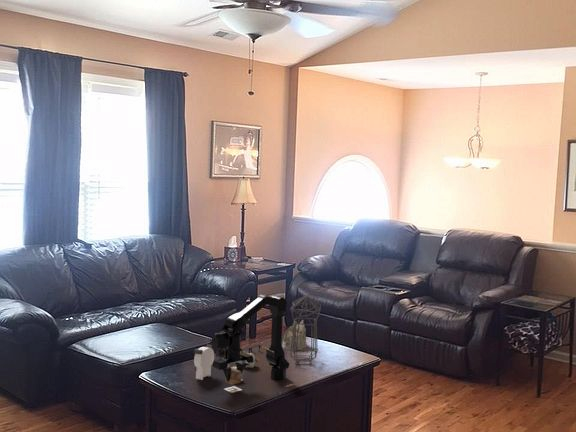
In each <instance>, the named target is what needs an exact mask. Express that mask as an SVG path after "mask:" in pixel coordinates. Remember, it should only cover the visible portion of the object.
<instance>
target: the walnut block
mask: <svg viewBox="0 0 576 432" xmlns="http://www.w3.org/2000/svg"><path fill="white" fill-rule="evenodd" d="M241 379H242V374H241V371H239V370H237V369H231V375H230V380H229V382H228V381H227V380H226V377H225V376H224V382H225V383H227V384H229V385H233V386H234V385H236V384H240V383H242V380H241Z"/></svg>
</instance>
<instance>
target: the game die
mask: <svg viewBox="0 0 576 432" xmlns="http://www.w3.org/2000/svg"><path fill="white" fill-rule="evenodd" d="M245 352H246V351H244V353H243V354H245ZM247 354H249V355H252V356H253V362H251V363H248V362H247V360H246V363H247V364H248V365H246V367H245V369H254V367H255V366H256V363H257V362H258V363H259V361H258V359H257V358H256V357H255V356H256V355H255V354H256V352H253V353H252V352H250V353H249V352H247Z"/></svg>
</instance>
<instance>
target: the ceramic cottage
mask: <svg viewBox="0 0 576 432" xmlns="http://www.w3.org/2000/svg"><path fill="white" fill-rule="evenodd" d="M304 320H305V319H301V321H299V333H298V344H297V349H305V348H307V346H308V345H307V344H308V343H307V336H306V331H307V328H306V327H305V326H306V325H301V324H305V323H304ZM296 323H297V324H296V342H295V349H296V343H297V332H298V322H297V321H296ZM293 326H294V323H292V325H291V326H289V327H288V328H287V330H286V331H285V332H284V335H283V340H282V348H283V350H286V351H291V343H292V335H293ZM294 330H295V326H294ZM293 339H294V335H293ZM294 341H295V339H294ZM292 348H293V344H292ZM293 349H294V348H293Z"/></svg>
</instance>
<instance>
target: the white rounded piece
mask: <svg viewBox="0 0 576 432" xmlns="http://www.w3.org/2000/svg"><path fill="white" fill-rule="evenodd" d="M214 351H215V349H213V348H212V345H211V344H206V346H202V347H199V348H194V350H193V352H194V356H193V357H194V358H193V359H194V360H193V364H194V371H195V380H201V381H203V380H204V378H206V377H211V374H212V373H211V370H212V366H213V361H214V360H215V352H214Z"/></svg>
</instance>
